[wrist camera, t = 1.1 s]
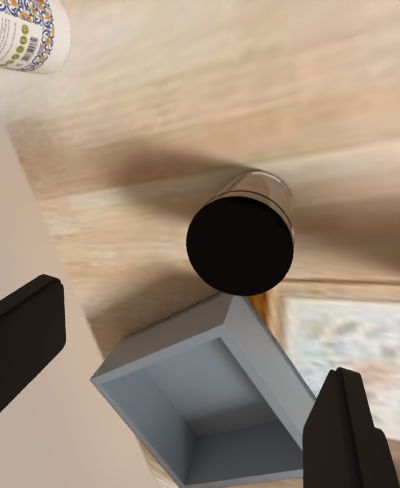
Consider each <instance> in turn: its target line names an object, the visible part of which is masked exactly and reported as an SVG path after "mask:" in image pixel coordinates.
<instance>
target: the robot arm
mask: <svg viewBox="0 0 400 488" xmlns="http://www.w3.org/2000/svg"><path fill="white" fill-rule="evenodd" d="M65 343H66V328H65V308H64V288H63V285H62V284H61V282H60V280H59V279H57V278H55V277H51V276H48V275H45V274H42V275H40V276H38V277H37V278H35V279H33V280H32V281H30V282H29V283H27V284H25V285H24V286H23V287H21V288H19V289H18V290H16V291H15V292H13V293H11V294H10V295H8V296H6V297H5V298H3V299H2V300H0V412H1V411H2V410H3V409H4V408H5V407H6V406H7V405H8V404H9V403H10V402H11V401H12V400H13V399H14V398H15V397H16V396H17V395H18V394H19V393H20V392H21V391H22V390H23V389H24V388H25V387H26V386H27V385H28V384H29V383H30V382H31V381H32V380H33V379H34V378H35V377H36V376H37V375H38V374H39V373H40V372H41V370H43V368H45V366H47V364H48V363H49V362H50V361H51V360H52V359H53V358H54V357H55V356H56V355H57V354H58V353H59V352H60V351H61V350H62V349H63V347H64V345H65ZM302 449H303V487H304V488H400V485H399V481H398V478H397V474H396V471H395V467H394V464H393V460H392V457H391V453H390V450H389V446H388V443H387V439H386V437H385V434H384V433H383V431H382V430H380V429H378V428H375V427H374V424H373V420H372V416H371V412H370V408H369V405H368V401H367V397H366V393H365V389H364V385H363V381H362V378H361V375H360V374H359V373H357V372H354V371H351V370H348V369H345V368H341V367H338V368H337V370H336V371H335V370H330V371H329V373H328V375H327V378H326V380H325V382H324V384H323V386H322V388H321V390H320V393H319V395H318V397H317V399H316V401H315V403H314V405H313V408H312V410H311V412H310V414H309V416H308V418H307V421H306V423H305V425H304V428H303V434H302Z"/></svg>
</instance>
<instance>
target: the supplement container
mask: <svg viewBox="0 0 400 488" xmlns="http://www.w3.org/2000/svg"><path fill="white" fill-rule="evenodd" d="M186 247H187V253H188V257H189V260H190V262H191V265H192V266H193V268H194V270H195V271H196V273H197V274H198V275H199V276H200V277H201V278H202V279H203V280H204V281H205V282H206V283H207V284H209V285H210V286H211V287H213V288H215V289H217V290H219V291H221V292H223V293H226V294H230V295H235V296H252V295H257V294H261V293H263V292H266V291H268V290H270V289H272V288H273V287H275V286H276V285H277V284H278V283H279V282H280V281H281V280H282V279H283V278H284V277H285V276H286V274H287V272H288V271H289V268H290V266H291V263H292V260H293V252H294V200H293V196H292V193H291V191H290V189H289V188H288V186H287V185H286V184H285V183H284V182H283V181H282V180H281V179H280V178H278V177H277V176H275V175H273V174H271V173H268V172H264V171H250V172H246V173H243V174H241V175H239V176H237V177H235V178H234V179H233V180H232V181H230V182H229V183H228V184H227V185H226V186H225V187H224V188H223V189H222V190H221V191H220V192H219V193H218V194H217V195H216V196H215V197H214V198H212V199H211V200H210V201H208V202H207V203H206V204H205V205H204V206H203V207H202V209H201V210H200V211H199V212H198V213H197V214H196V215H195V216H194V218H193V220H192V221H191V223H190V226H189V228H188V232H187V238H186Z"/></svg>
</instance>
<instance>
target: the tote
mask: <svg viewBox="0 0 400 488" xmlns="http://www.w3.org/2000/svg"><path fill="white" fill-rule="evenodd" d="M90 381H91V382H92V383H93V384H94V386H95V387H96V388H97V389H98V391H99V392H100V393H101V394H102V395H103V397H104V398H105V399H106V400H107V401H108V403H109V404H110V405H111V406H112V407H113V409H114V410H115V411H116V412H117V413H118V415H119V416H120V417H121V418H122V419H123V421H124V422H125V423H126V424H127V425H128V427H130V429H131V430H132V431H133V433H134V434H135V435H136V436H137V437H138V439H139V440H140V441H141V442H142V443H143V445H144V446H145V447H146V448H147V449H148V451H149V452H150V453H151V454H152V455H153V457H154V458H155V459H156V460H157V461H158V463H159V464H160V465H161V466H162V467H163V469H164V470H165V471H166V472H167V473H168V475H169V476H170V477H171V478H172V479H173V481H174V482H175V483H176V484H177V485H178V487H179V488H223V487H230V486H238V485H246V484H253V483H261V482H269V481H276V480H284V479H292V478H299V477H303V449H302V434H303V428H304V425H305V423H306V421H307V418H308V416H309V414H310V412H311V410H312V408H313V405H314V403H315V401H316V397H315V396H314V394H313V393H312V391H311V390H310V389H309V387H308V386H307V384H306V383H305V381H304V380H303V378H302V377H301V375H300V374H299V372H298V371H297V370H296V368H295V367H294V365H293V364H292V362H291V361H290V359H289V358H288V356H287V355H286V353H285V352H284V351H283V349H282V348H281V346H280V345H279V343H278V342H277V340H276V339H275V337H274V336H273V334H272V333H271V331H270V330H269V329H268V327H267V326H266V324H265V323H264V321H263V320H262V318H261V317H260V315H259V314H258V312H257V311H256V310H255V308H254V307H253V305H252V304H251V302H250V301H249V299H248V298H247V296H235V295H230V294H226V293H223V292H219V293H217V294H215V295H213V296H211V297H209V298H206V299H204V300H202V301H200V302H198V303H196V304H194V305H192V306H190V307H188V308H185V309H183V310H181V311H179V312H177V313H175V314H173V315H171V316H169V317H167V318H165V319H162V320H160V321H158V322H156V323H154V324H152V325H150V326H148V327H146V328H144V329H141V330H139V331H137V332H135V333H133V334H131V335H129V336H127V337H125V338H123V339H122V340H121V341H120V342H119V343H118V345H117V346H116V347H115V348H114V350H113V351H112V352H111V353H110V355H109V356H108V357H107V358H106V360H105V361H104V362H103V364H102V365H101V366H100V367H99V369H98V370H97V371H96V372H95V374H94V375H93V376H92V377H91V379H90Z"/></svg>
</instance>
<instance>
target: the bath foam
mask: <svg viewBox="0 0 400 488" xmlns="http://www.w3.org/2000/svg"><path fill="white" fill-rule="evenodd" d="M70 46H71V27H70V22H69V18H68V15H67V12H66V10H65V8H64V6H63V4H62V2H61V1H60V0H0V68H6V69H12V70H17V71H23V72H32V73H38V74H48V73H52V72H54V71H56V70H58V69H59V68H60V67H61V66H62V65H63V64H64V62H65V61H66V59H67V57H68V54H69V51H70Z"/></svg>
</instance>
